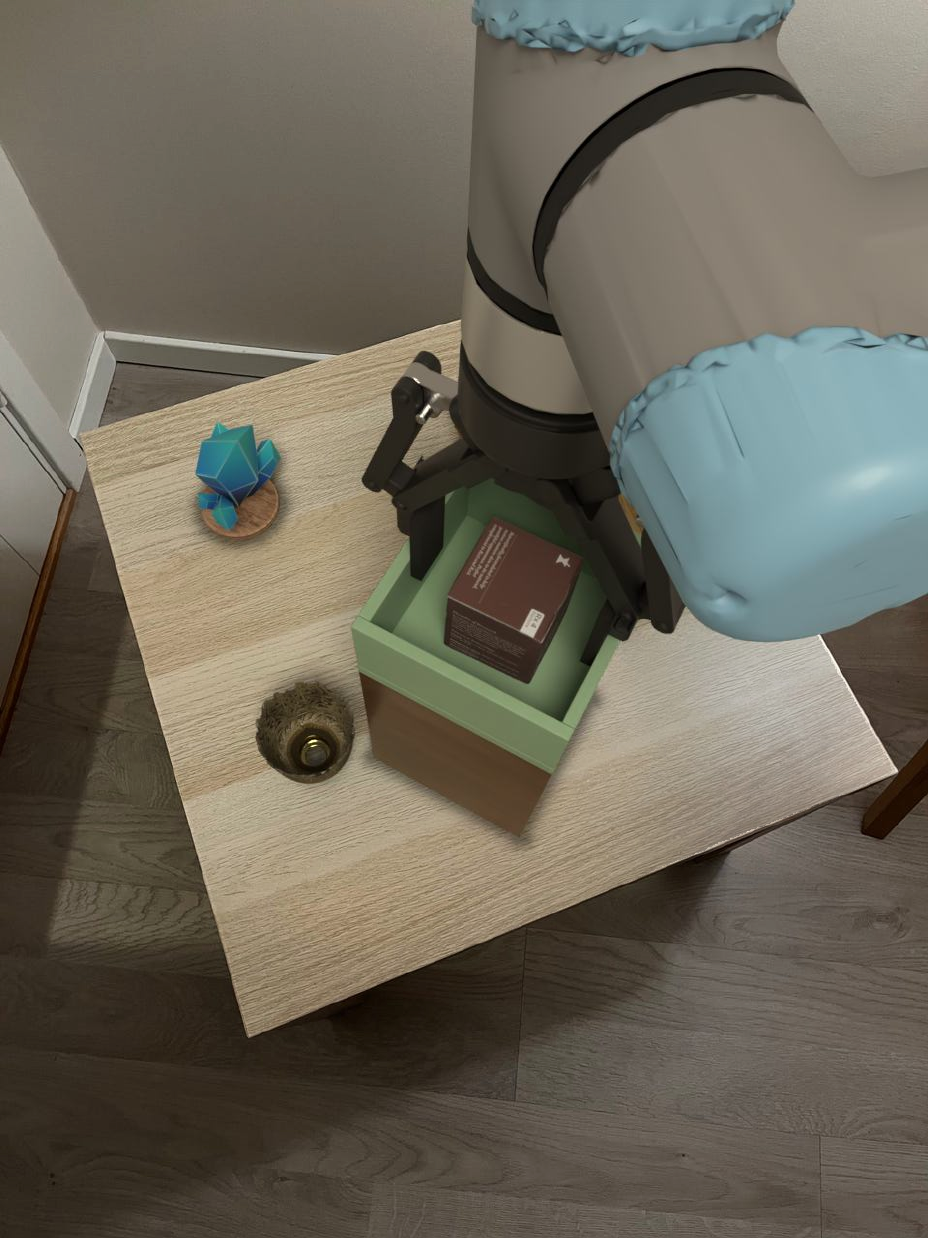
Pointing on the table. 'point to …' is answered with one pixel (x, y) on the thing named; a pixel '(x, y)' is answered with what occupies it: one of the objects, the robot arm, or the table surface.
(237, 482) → the gemstone
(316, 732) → the bronze rounded hollow piece
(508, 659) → the box
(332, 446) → the table surface
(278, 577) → the table surface
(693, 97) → the robot arm
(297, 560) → the table surface
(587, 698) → the basket
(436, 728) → the stand
